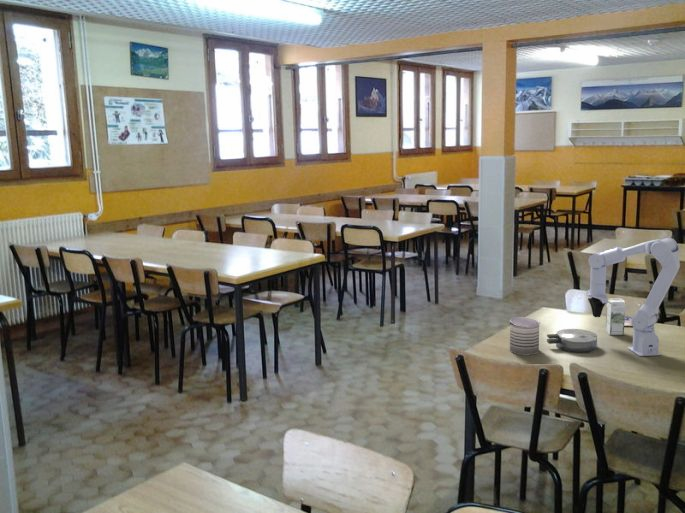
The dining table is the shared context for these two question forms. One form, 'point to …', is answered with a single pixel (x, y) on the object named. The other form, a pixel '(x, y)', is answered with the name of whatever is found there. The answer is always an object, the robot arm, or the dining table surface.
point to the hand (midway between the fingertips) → (596, 316)
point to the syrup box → (615, 316)
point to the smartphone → (627, 322)
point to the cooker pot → (574, 346)
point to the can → (524, 335)
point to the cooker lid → (574, 335)
